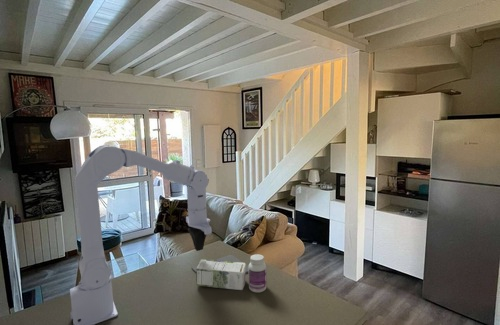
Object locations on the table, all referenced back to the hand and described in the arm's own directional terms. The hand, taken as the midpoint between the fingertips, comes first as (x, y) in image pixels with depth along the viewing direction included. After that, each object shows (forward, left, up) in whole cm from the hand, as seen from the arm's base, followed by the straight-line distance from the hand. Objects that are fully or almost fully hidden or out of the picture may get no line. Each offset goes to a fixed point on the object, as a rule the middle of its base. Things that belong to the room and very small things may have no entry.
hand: (199, 249), depth 86 cm
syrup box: (-2, -3, -6) cm, 7 cm away
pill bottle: (+11, -16, -10) cm, 22 cm away
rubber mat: (+8, 0, -9) cm, 12 cm away
